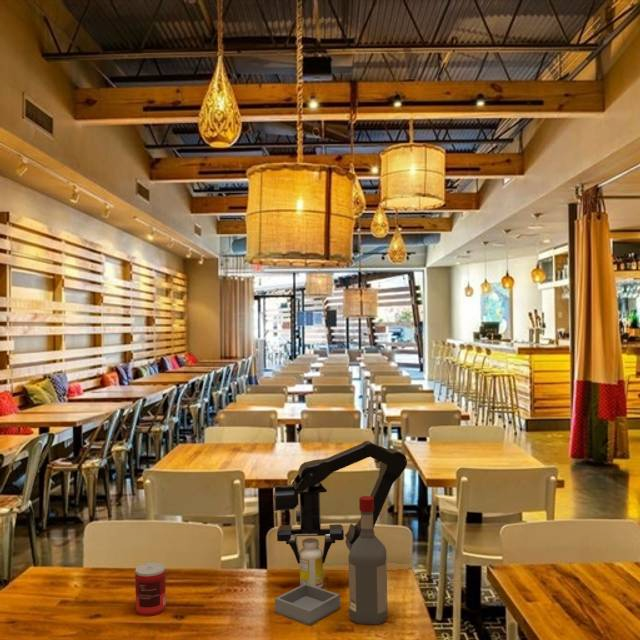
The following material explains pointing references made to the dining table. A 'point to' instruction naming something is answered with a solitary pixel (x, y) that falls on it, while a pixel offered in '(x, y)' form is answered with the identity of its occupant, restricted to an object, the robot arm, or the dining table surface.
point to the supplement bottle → (311, 563)
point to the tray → (307, 603)
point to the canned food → (150, 589)
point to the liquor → (367, 571)
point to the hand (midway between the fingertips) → (311, 562)
